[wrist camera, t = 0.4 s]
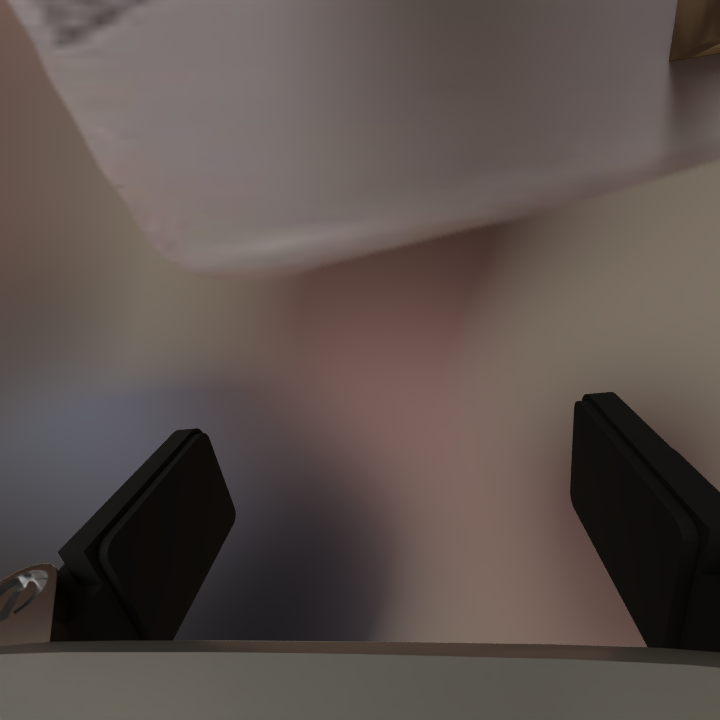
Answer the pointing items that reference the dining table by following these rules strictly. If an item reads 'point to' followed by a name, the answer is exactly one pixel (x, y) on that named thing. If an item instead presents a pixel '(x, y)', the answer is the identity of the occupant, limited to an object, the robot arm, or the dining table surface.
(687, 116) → the dining table surface
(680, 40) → the cleat board
